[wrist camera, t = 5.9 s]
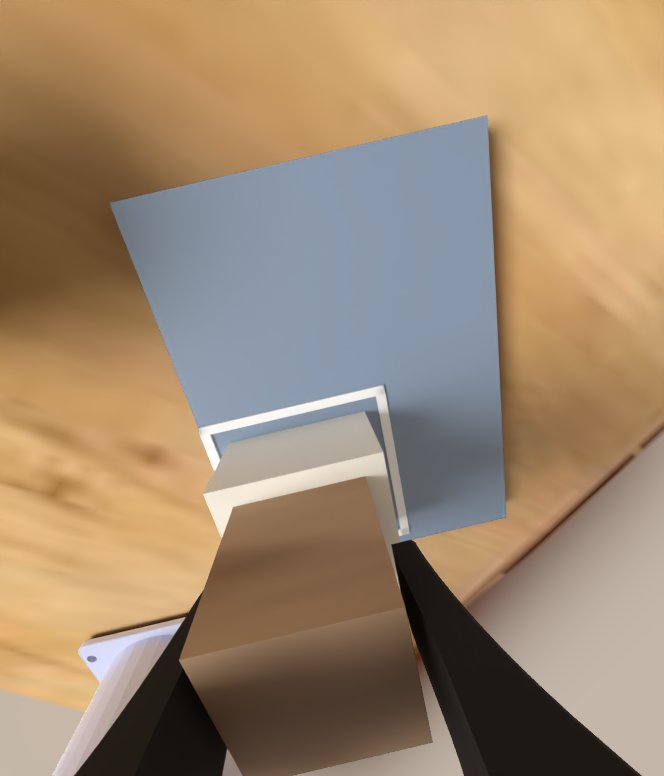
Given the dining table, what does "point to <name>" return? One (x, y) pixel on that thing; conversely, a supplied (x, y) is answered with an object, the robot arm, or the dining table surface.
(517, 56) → the dining table surface
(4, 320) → the dining table surface
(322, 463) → the cream base block
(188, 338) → the board
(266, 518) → the walnut block
